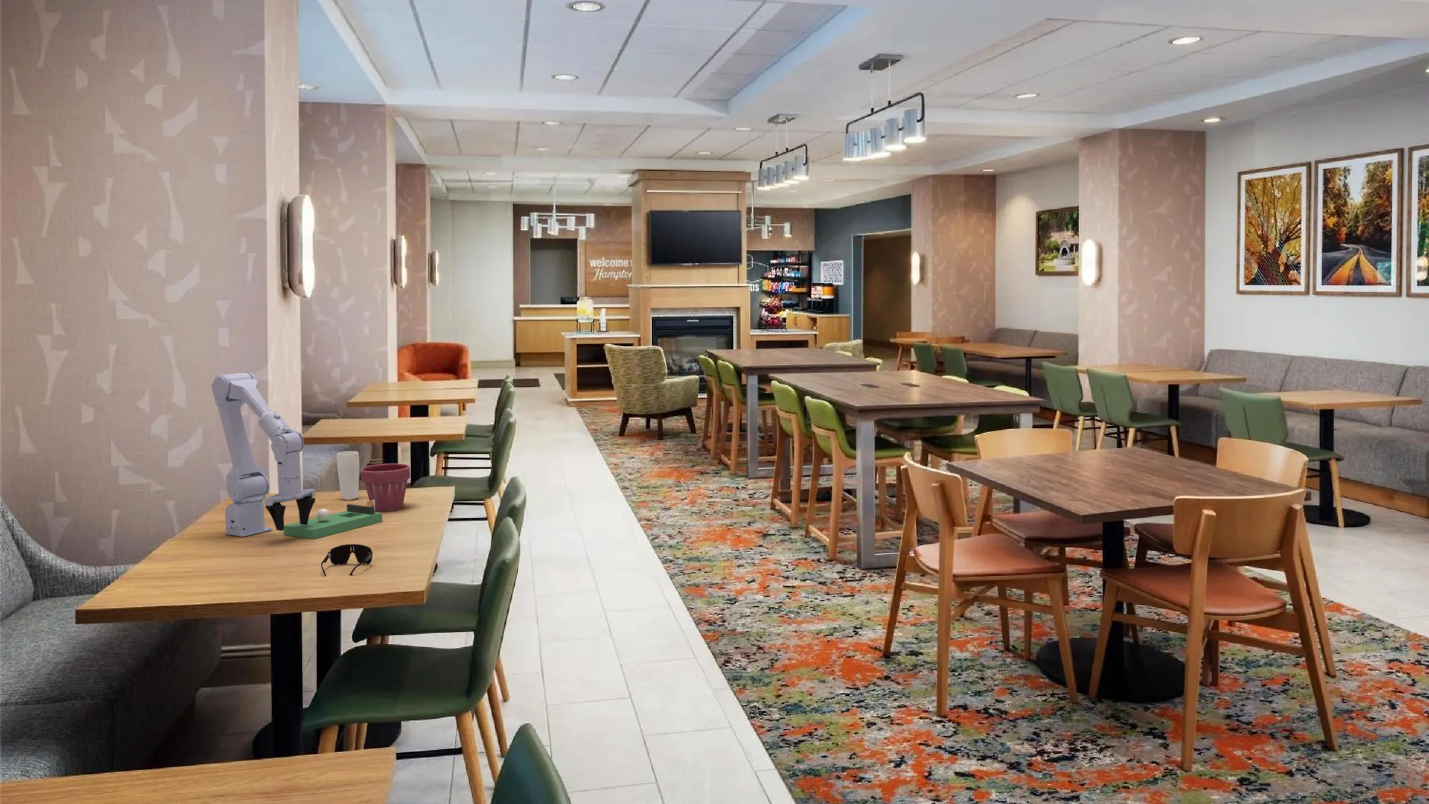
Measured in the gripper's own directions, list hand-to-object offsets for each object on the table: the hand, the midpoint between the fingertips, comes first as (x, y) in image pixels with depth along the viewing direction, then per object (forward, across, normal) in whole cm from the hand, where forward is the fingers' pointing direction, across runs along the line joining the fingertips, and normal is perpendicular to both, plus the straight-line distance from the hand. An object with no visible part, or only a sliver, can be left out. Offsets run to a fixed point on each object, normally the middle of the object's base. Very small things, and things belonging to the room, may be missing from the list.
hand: (292, 527), depth 278 cm
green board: (+3, +14, 0) cm, 14 cm away
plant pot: (+3, +40, +7) cm, 41 cm away
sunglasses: (+3, -16, -38) cm, 42 cm away
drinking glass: (+3, +45, +29) cm, 54 cm away
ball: (-1, +10, 0) cm, 10 cm away
